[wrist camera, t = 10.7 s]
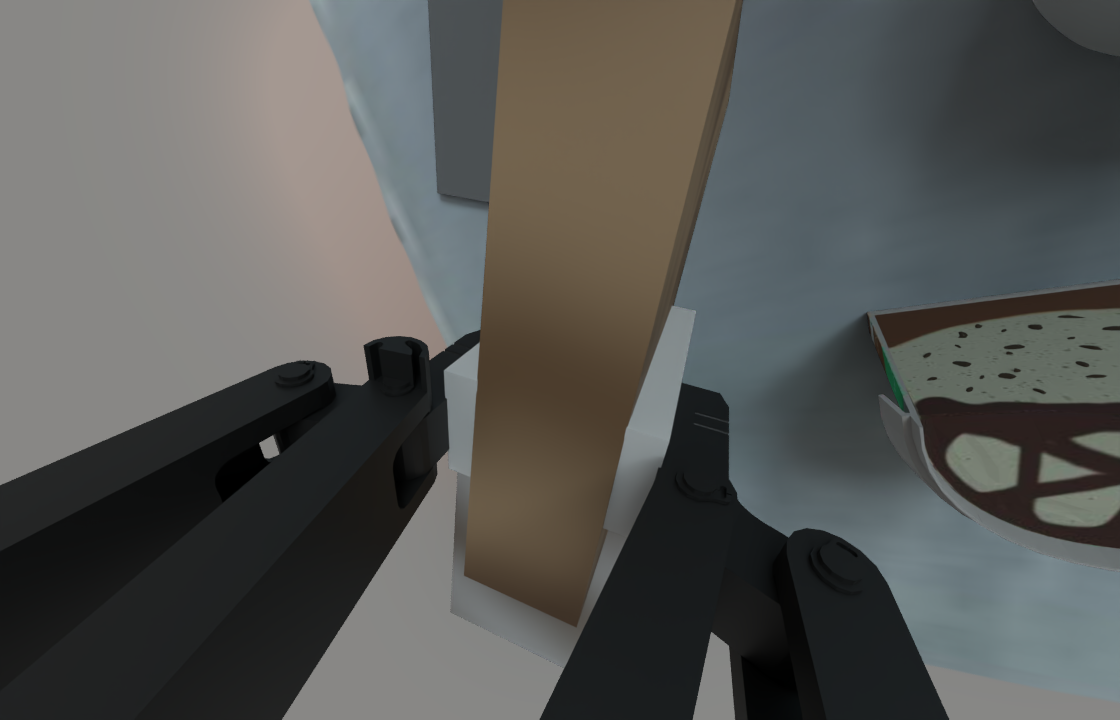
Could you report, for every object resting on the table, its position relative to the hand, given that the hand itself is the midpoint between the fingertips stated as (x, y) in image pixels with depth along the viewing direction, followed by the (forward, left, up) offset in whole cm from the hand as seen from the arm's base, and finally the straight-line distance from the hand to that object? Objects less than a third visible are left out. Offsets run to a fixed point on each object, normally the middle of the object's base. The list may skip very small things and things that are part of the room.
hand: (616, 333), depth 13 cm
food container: (+2, +16, -11) cm, 20 cm away
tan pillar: (+3, 0, -1) cm, 3 cm away
